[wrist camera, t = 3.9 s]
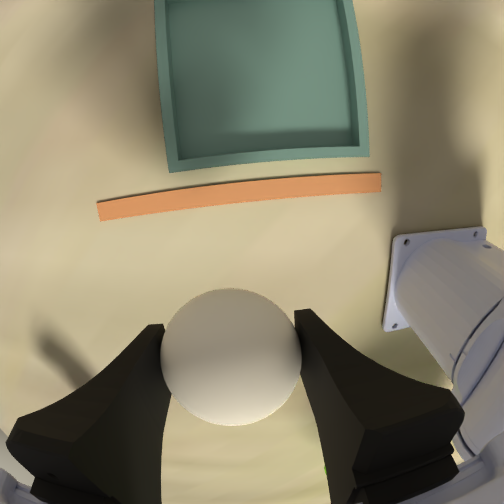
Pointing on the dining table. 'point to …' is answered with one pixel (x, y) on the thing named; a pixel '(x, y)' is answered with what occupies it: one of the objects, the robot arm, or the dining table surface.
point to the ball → (231, 357)
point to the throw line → (239, 194)
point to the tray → (259, 81)
